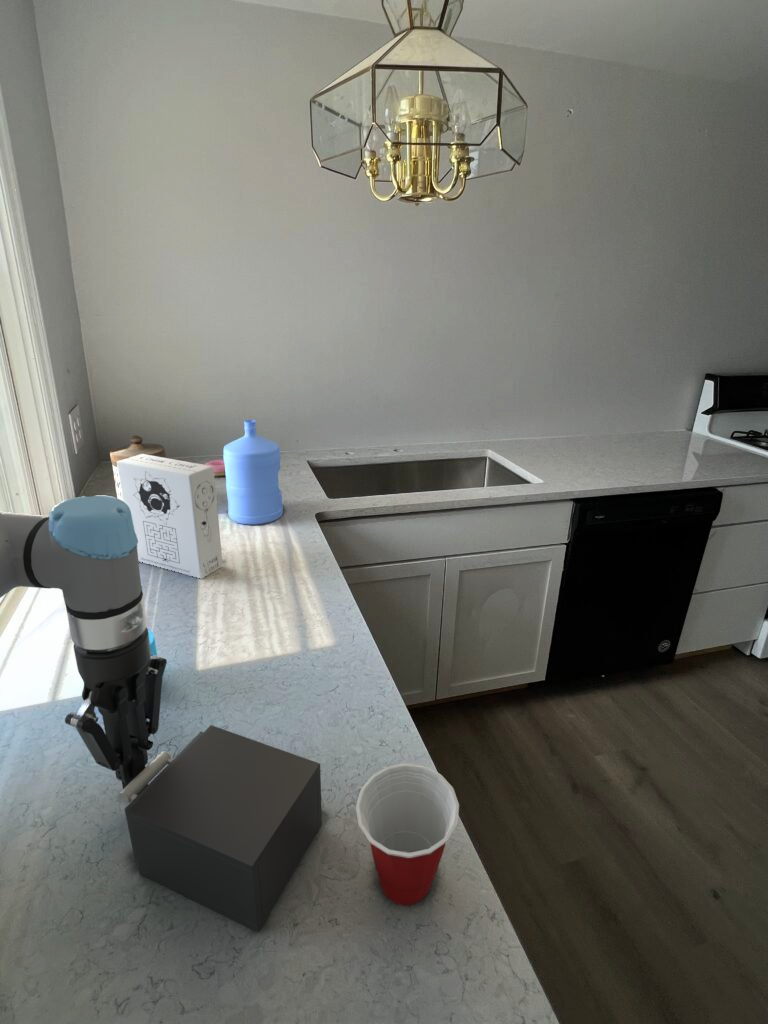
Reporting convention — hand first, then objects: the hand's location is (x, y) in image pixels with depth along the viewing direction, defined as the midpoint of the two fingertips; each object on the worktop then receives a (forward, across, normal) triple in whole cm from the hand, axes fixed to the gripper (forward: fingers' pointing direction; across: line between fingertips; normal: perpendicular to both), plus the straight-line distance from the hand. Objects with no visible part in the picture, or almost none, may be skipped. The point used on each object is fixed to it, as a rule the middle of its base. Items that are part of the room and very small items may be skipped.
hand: (136, 790), depth 70 cm
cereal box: (+4, +56, +42) cm, 70 cm away
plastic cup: (+1, +4, -35) cm, 35 cm away
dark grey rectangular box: (+2, 0, -15) cm, 15 cm away
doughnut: (+3, +118, +77) cm, 141 cm away
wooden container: (+5, +81, +76) cm, 111 cm away
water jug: (+4, +90, +43) cm, 99 cm away
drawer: (+1, 0, -11) cm, 11 cm away
